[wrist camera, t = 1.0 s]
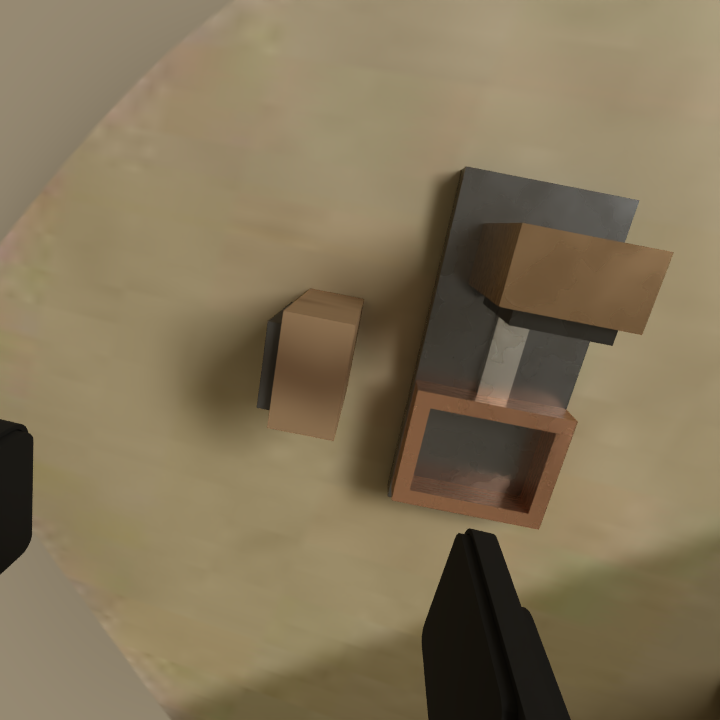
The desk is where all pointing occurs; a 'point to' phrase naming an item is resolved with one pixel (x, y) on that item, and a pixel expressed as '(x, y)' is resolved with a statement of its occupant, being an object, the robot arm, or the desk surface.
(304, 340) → the small cardboard box
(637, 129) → the desk surface
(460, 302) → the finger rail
